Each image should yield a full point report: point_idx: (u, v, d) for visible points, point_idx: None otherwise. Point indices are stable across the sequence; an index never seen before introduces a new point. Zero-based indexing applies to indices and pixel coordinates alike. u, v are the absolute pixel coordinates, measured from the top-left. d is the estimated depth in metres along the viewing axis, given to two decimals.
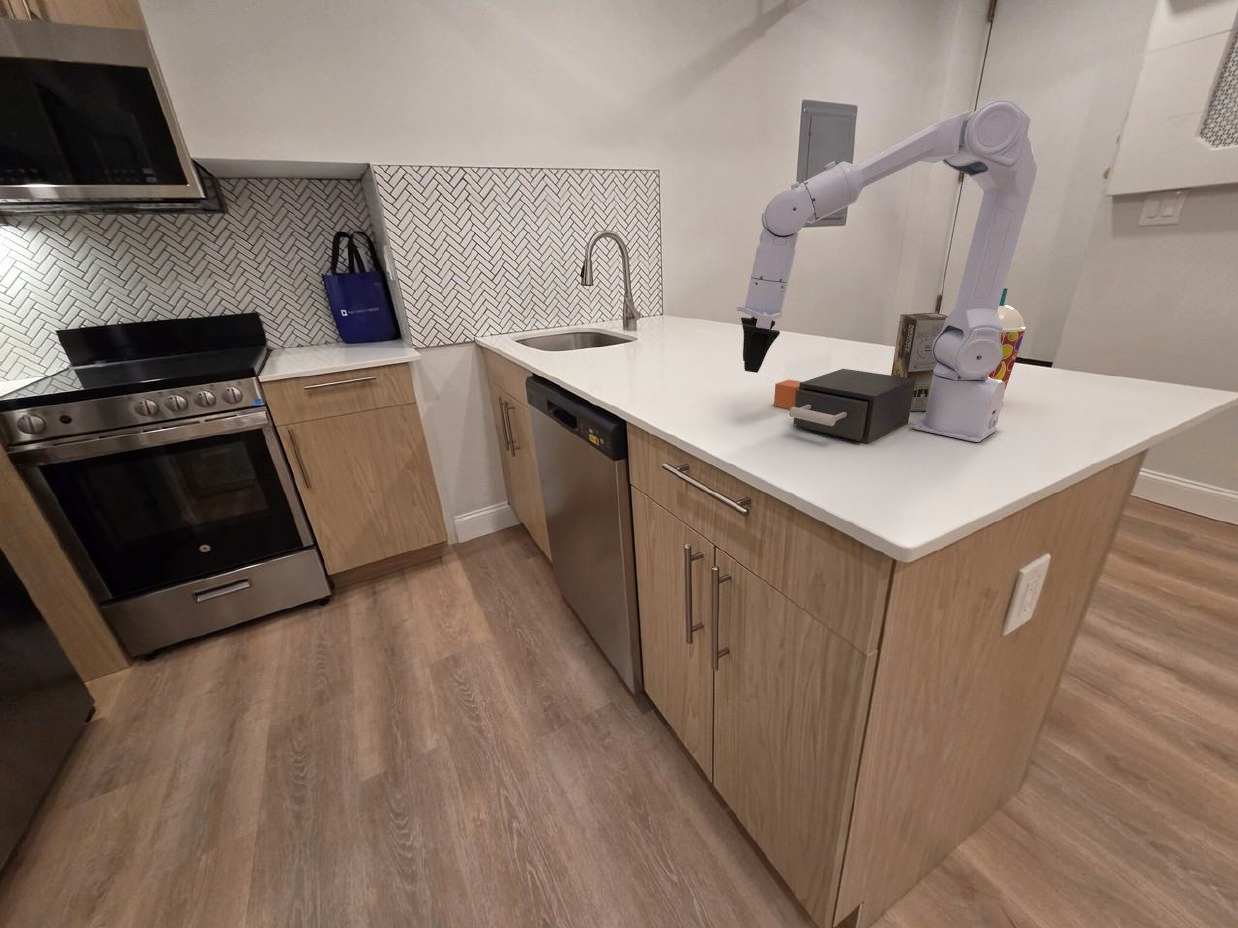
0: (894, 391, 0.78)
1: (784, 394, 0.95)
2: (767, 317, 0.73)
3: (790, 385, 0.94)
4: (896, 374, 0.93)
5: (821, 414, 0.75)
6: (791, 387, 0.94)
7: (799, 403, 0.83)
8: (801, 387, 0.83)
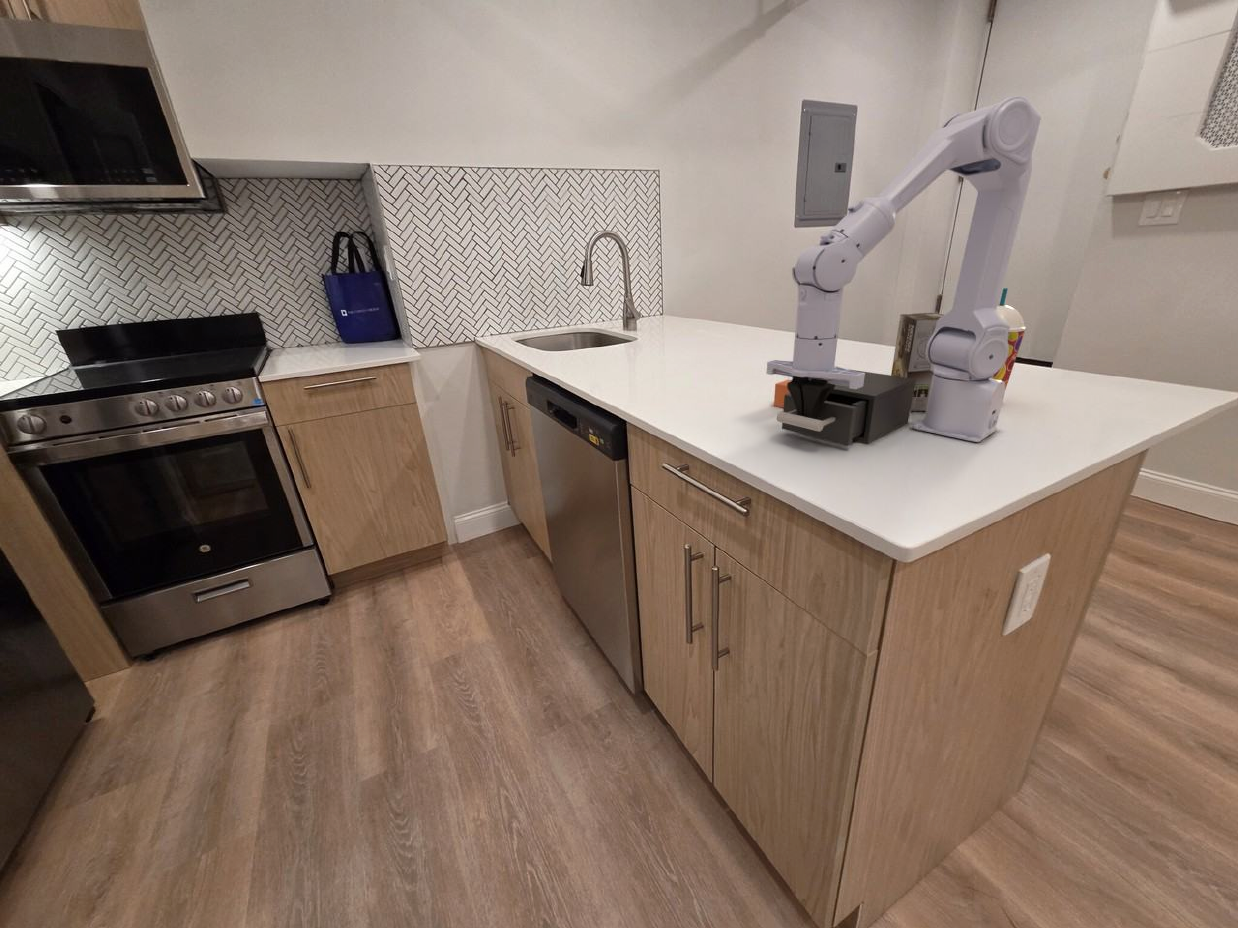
0: (894, 391, 0.78)
1: (784, 394, 0.95)
2: (862, 376, 0.68)
3: None
4: (896, 374, 0.93)
5: (809, 419, 0.73)
6: None
7: (787, 407, 0.81)
8: None
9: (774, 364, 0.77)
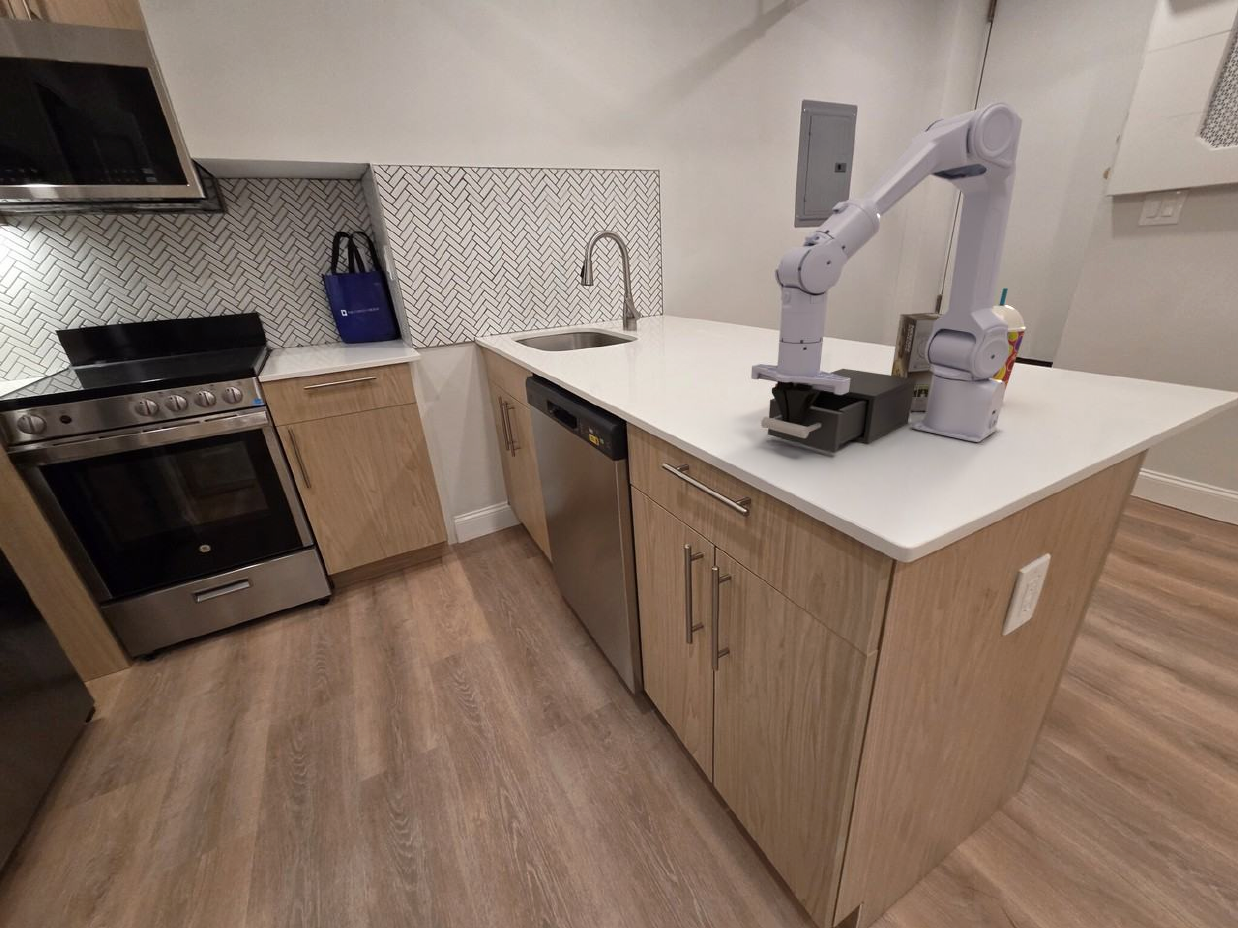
0: (894, 391, 0.78)
1: None
2: (847, 381, 0.66)
3: None
4: (896, 374, 0.93)
5: (793, 425, 0.71)
6: None
7: (773, 413, 0.79)
8: None
9: (759, 368, 0.75)
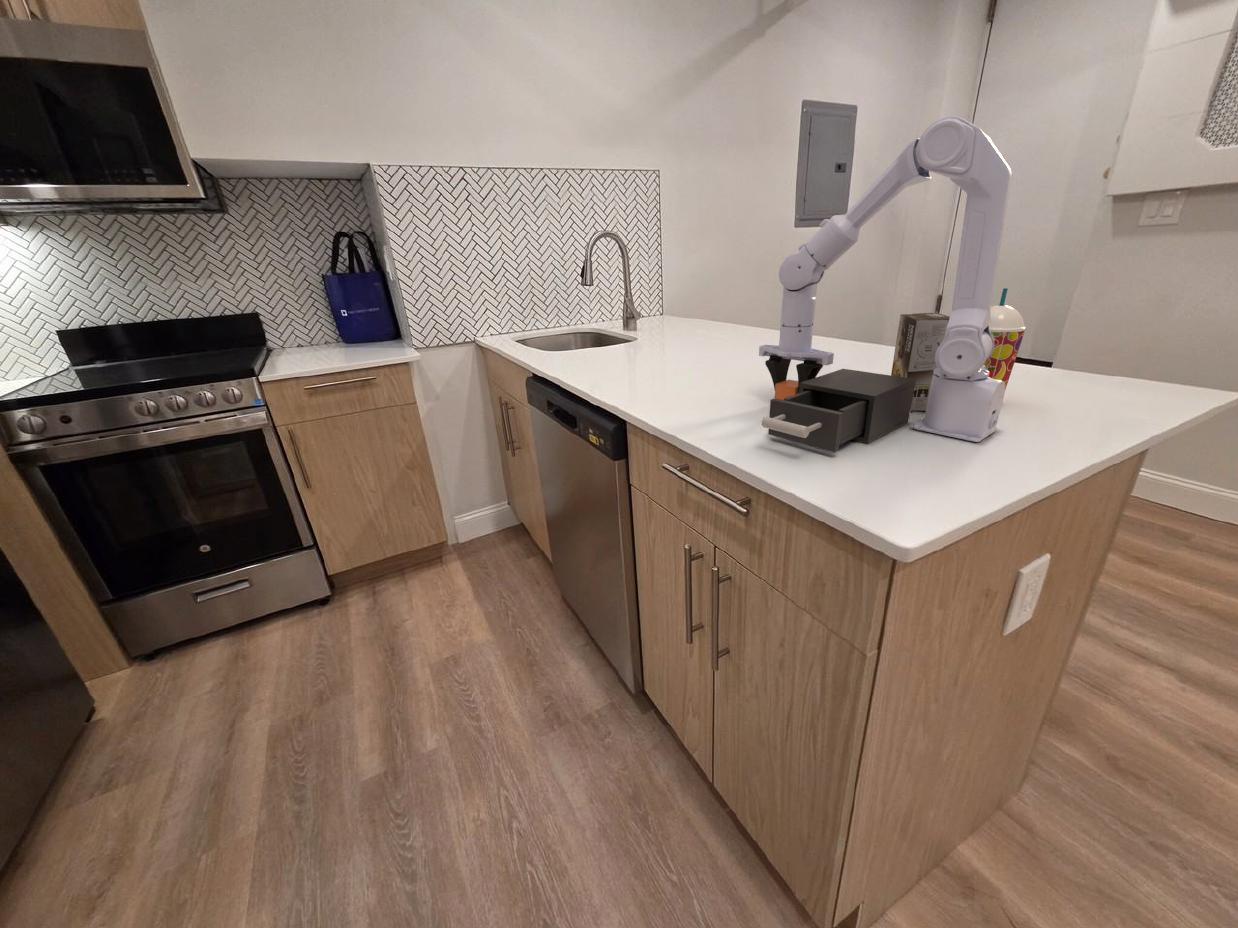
0: (894, 391, 0.78)
1: (784, 394, 0.95)
2: (831, 355, 0.88)
3: (790, 385, 0.94)
4: (896, 374, 0.93)
5: (794, 425, 0.71)
6: (791, 387, 0.94)
7: (773, 412, 0.79)
8: (801, 387, 0.83)
9: (764, 348, 0.97)
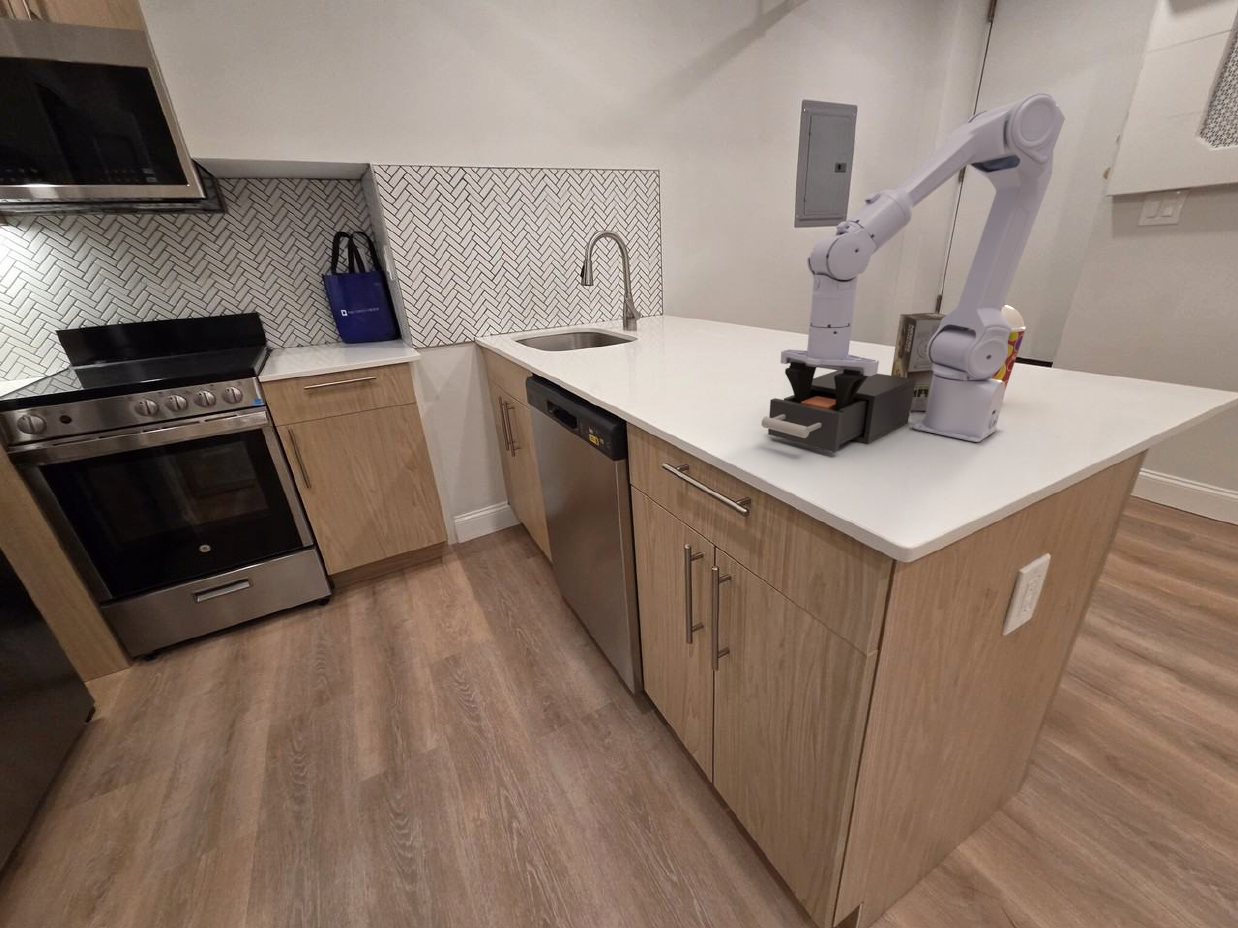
0: (894, 391, 0.78)
1: None
2: (876, 363, 0.70)
3: (820, 404, 0.76)
4: (896, 374, 0.93)
5: (794, 425, 0.71)
6: (822, 407, 0.75)
7: (773, 412, 0.79)
8: None
9: (788, 353, 0.78)
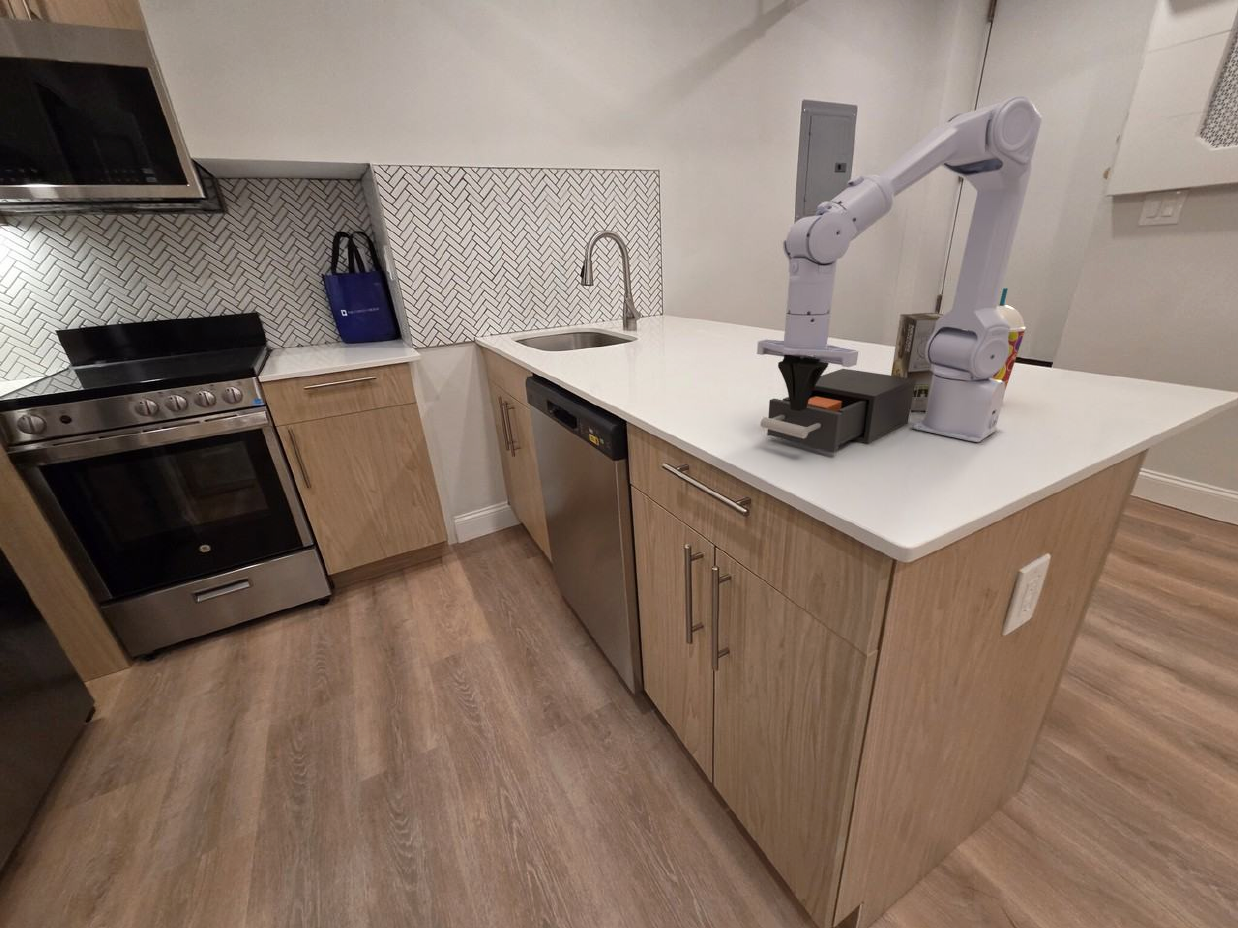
0: (894, 391, 0.78)
1: None
2: (855, 353, 0.65)
3: (819, 404, 0.76)
4: (896, 374, 0.93)
5: (793, 426, 0.71)
6: (821, 407, 0.75)
7: (772, 413, 0.79)
8: None
9: (765, 343, 0.74)
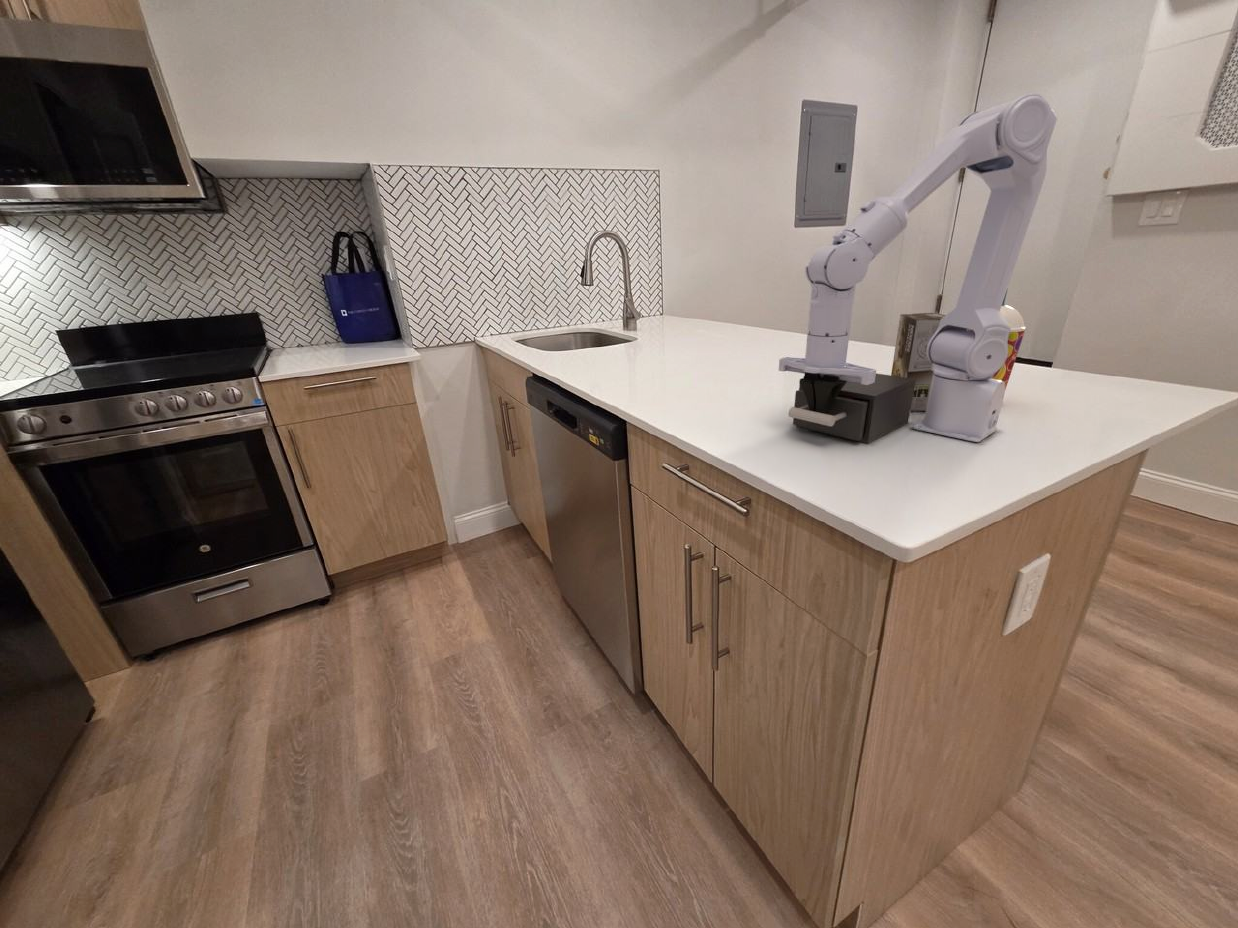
0: (894, 391, 0.78)
1: None
2: (873, 372, 0.70)
3: None
4: (896, 374, 0.93)
5: (820, 414, 0.75)
6: None
7: (798, 403, 0.82)
8: None
9: (786, 361, 0.78)
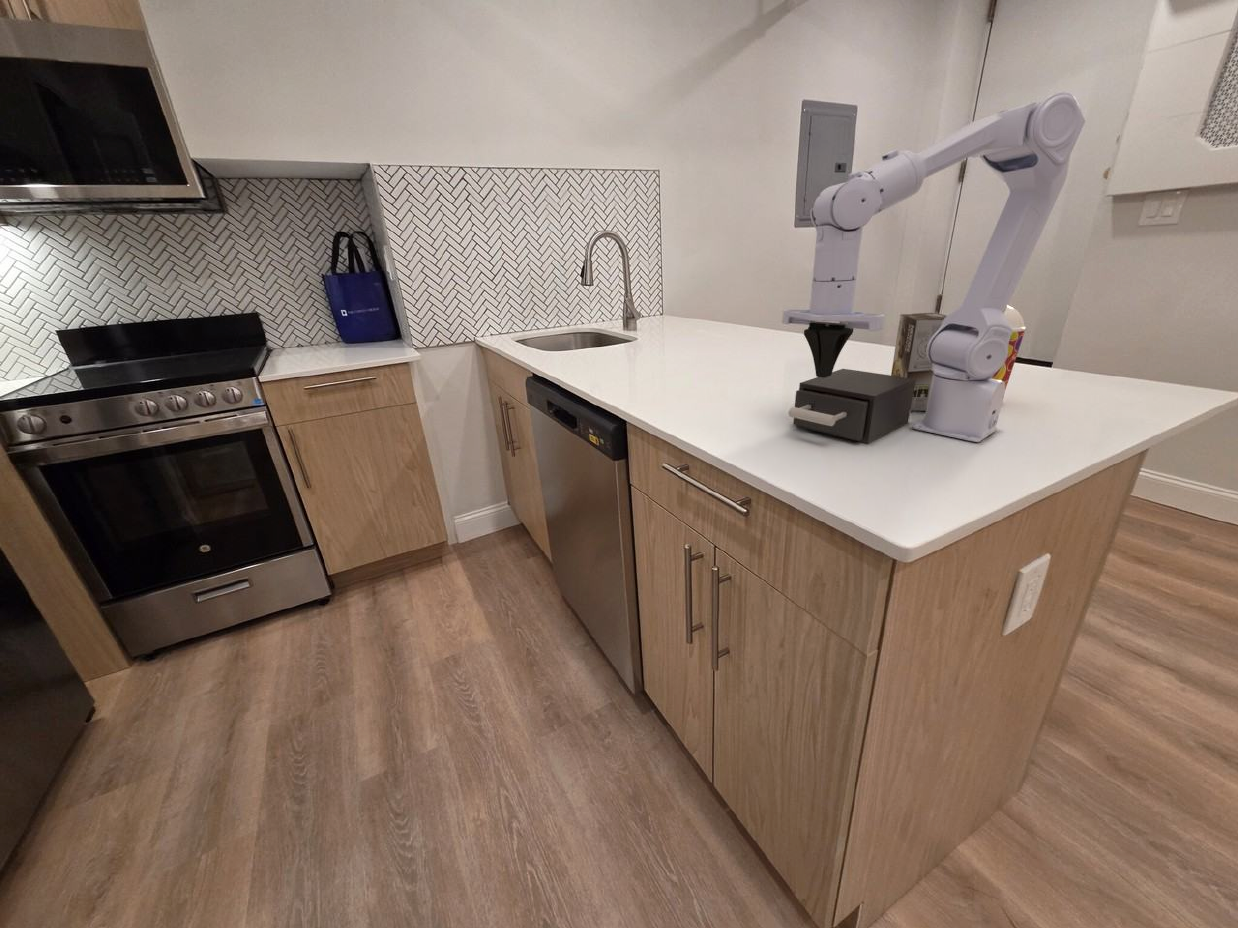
0: (894, 391, 0.78)
1: None
2: (881, 317, 0.67)
3: (840, 396, 0.79)
4: (896, 374, 0.93)
5: (821, 414, 0.75)
6: None
7: (799, 403, 0.83)
8: (801, 387, 0.83)
9: (790, 312, 0.76)
